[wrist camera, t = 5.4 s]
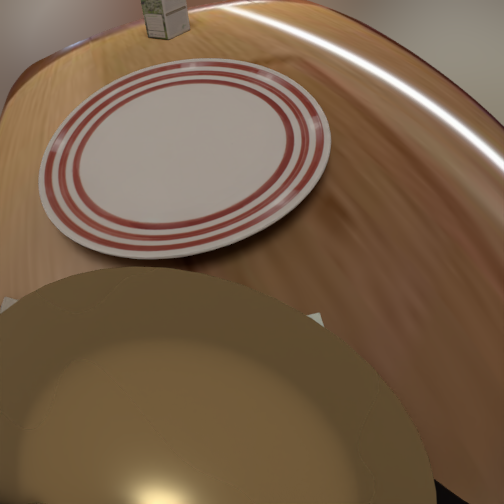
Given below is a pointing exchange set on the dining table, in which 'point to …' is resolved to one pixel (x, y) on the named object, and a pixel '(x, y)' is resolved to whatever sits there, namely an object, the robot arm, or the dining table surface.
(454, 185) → the dining table surface
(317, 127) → the dinner plate
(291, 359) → the jar with gold lid
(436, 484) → the robot arm
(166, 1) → the syrup box
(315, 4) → the dining table surface
